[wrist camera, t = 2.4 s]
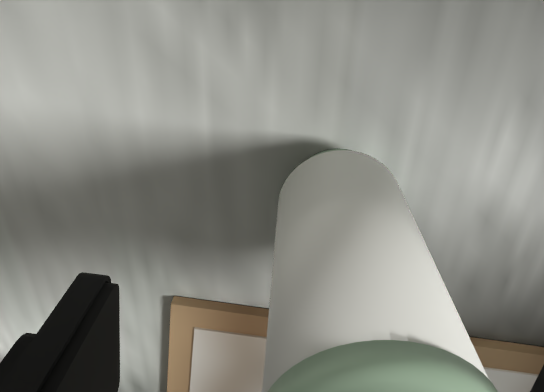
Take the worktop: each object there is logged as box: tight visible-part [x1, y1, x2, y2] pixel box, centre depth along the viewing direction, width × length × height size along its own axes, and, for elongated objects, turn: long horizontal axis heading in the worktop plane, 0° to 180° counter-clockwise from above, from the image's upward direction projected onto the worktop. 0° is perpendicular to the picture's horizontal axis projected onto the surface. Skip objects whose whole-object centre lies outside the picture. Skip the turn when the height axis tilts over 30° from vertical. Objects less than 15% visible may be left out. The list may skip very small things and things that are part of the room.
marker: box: [262, 149, 498, 392], centre depth 12 cm, size 4×4×10 cm
